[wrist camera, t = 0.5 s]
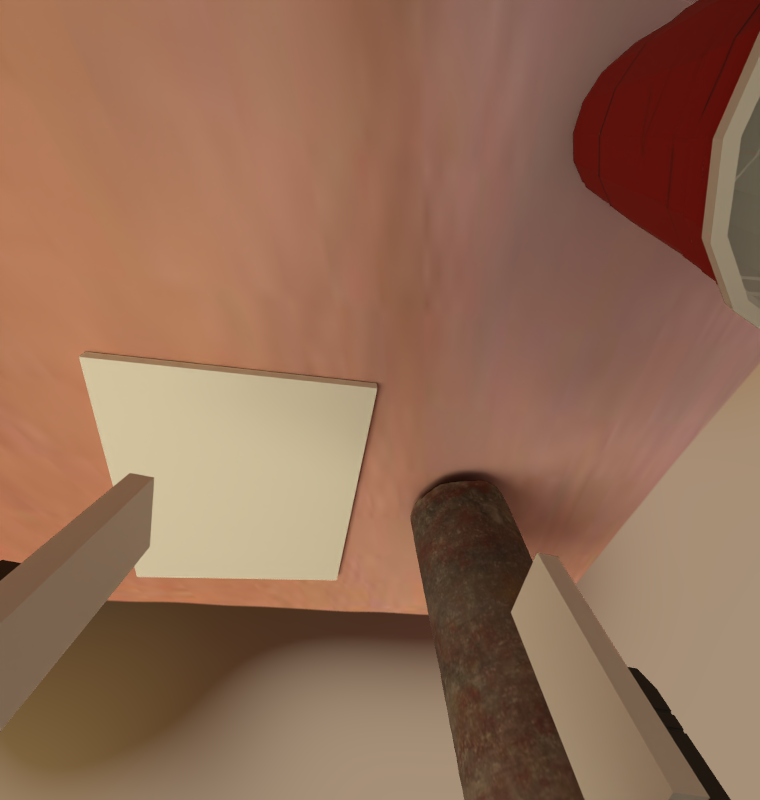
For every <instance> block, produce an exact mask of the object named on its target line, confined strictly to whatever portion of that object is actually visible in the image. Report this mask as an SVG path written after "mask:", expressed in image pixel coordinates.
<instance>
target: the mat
mask: <svg viewBox="0 0 760 800" xmlns="http://www.w3.org/2000/svg"><path fill="white" fill-rule="evenodd" d="M79 359H80V363H81V366H82V370H83V374H84V378H85V382H86V385H87V389H88V393H89V397H90V401H91V404H92V408H93V412H94V416H95V419H96V423H97V427H98V431H99V435H100V438H101V442H102V446H103V450H104V454H105V457H106V461H107V465H108V469H109V472H110V476H111V480H112V484H113V487H114V486H115V485H116V484H117V483H118V482H120V481H121V480H122V479H123V478H124V477H126V476H127V475H128V474H129V473H133V474H139V475H144V476H149V477H154V491H153V506H152V522H151V537H150V547H149V549H148V550H147V551H146V552H145V553H144V555H143V556H142V557H141V558H140V560H139V561H138V562H137V563H136V565H135V566H134V567H135V571H136V575H137V577H173V578H233V579H292V580H337V576H338V572H339V567H340V562H341V558H342V553H343V548H344V543H345V539H346V534H347V529H348V525H349V520H350V515H351V510H352V506H353V501H354V496H355V492H356V487H357V482H358V477H359V473H360V468H361V463H362V459H363V454H364V449H365V445H366V440H367V435H368V430H369V426H370V421H371V416H372V412H373V407H374V402H375V397H376V393H377V383H370V382H361V381H352V380H343V379H333V378H324V377H315V376H306V375H296V374H287V373H278V372H269V371H260V370H250V369H241V368H232V367H223V366H213V365H204V364H195V363H186V362H177V361H167V360H158V359H149V358H140V357H130V356H121V355H112V354H103V353H93V352H84V353H83V354H82V355H80V356H79Z"/></svg>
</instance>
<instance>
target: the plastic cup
mask: <svg viewBox="0 0 760 800" xmlns="http://www.w3.org/2000/svg"><path fill="white" fill-rule="evenodd" d="M573 155H574V163H575V165H576V168H577V170H578V172H579V174H580V177H581V179H582V181H583V182H584V183H585V185H586V187H587V188H588V189H589V190H591V191H592V192H593V193H595V194H596V195H597V196H599V197H600V198H602V199H603V200H604V201H606V202H607V203H609V204H610V206H612V207H613V208H614V209H616V210H617V211H618V212H620V213H621V214H622V215H624V216H625V217H626V218H628V219H629V220H630V221H632V222H633V223H635V224H636V225H638V226H639V227H641V228H642V229H644V230H645V231H647V232H649V233H650V234H652V235H653V236H655V237H656V238H658V239H659V240H661V241H662V242H664V243H665V244H667V245H668V246H670V247H671V248H673V249H675V250H676V251H678V252H679V253H681V254H682V255H683V256H684V257H685V258H686V259H688V260H689V261H690V262H692V263H693V264H695V265H696V266H697V267H699V268H700V269H701V270H702V272H704V273H705V274H706V275H708V276H709V277H710V278H712V279H713V280H715V281H716V284H718V286H719V289H720V291H721V294H722V297H723V300H724V303H725V304H727V305H728V306H729V307H730V308H731V309H732V310H733V311H734V312H736V313H737V314H739V315H740V316H742V317H743V318H744V319H746V320H747V321H749V322H750V323H752V324H753V325H754V326H756V327H757V328H759V329H760V0H698V1H697V2H695V3H694V4H692V5H691V6H689V7H688V8H686V9H685V10H684V11H683V12H681V13H680V14H679V15H678V16H677V17H676V18H674V19H673V20H672V21H671V22H669V23H668V24H666V25H664V26H663V27H661V28H659V29H658V30H656V31H654V32H653V33H651V34H649V35H648V36H646V37H644V38H643V39H641V40H639V41H638V42H636V43H635V44H634V45H633V46H631V47H630V48H629V49H628V50H627V51H626V52H624V53H623V54H622V55H621V56H620V57H619V58H618V59H616V60H615V61H614V62H613V63H612V64H611V65H609V66H608V68H607V69H606V70H605V71H603V72H602V73H601V75H600V76H599V78H598V79H597V81H596V82H595V84H594V86H593V87H592V89H591V90H590V92H589V93H588V95H587V97H586V98H585V100H584V101H583V103H582V106H581V110H580V113H579V116H578V119H577V123H576V126H575V129H574V132H573Z"/></svg>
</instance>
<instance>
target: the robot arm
mask: <svg viewBox="0 0 760 800" xmlns="http://www.w3.org/2000/svg"><path fill="white" fill-rule="evenodd" d="M153 491H154V477H149V476H144V475H139V474H133V473H129V474H128V475H127V476H126V477H124V478H123V479H122V480H121V481H120V482H118V483H117V484H116V485H115V486H114V487H112V488H111V489H110V490H109V491H108V492H106V493H105V494H104V495H103V496H101V497H100V498H99V499H98V500H97V501H95V502H94V503H93V504H92V505H91V506H89V507H88V508H87V509H86V510H85V511H83V512H82V513H81V514H80V515H79V516H77V517H76V518H75V519H74V520H73V521H71V522H70V523H69V524H68V525H67V526H65V527H64V528H63V529H62V530H61V531H59V532H58V533H57V534H56V535H55V536H53V537H52V538H51V539H50V540H49V541H47V542H46V543H45V544H44V545H43V546H41V547H40V548H39V549H38V550H37V551H35V552H34V553H33V554H32V555H31V556H29V557H28V558H27V559H26V560H25V561H23V562H22V563H17V562H11V561H5V560H1V561H0V731H1V730H2V729H3V728H4V726H5V725H6V724H7V723H8V721H9V720H10V719H11V718H12V716H13V715H14V714H15V713H16V711H17V710H18V709H19V708H20V707H21V705H22V704H23V703H24V702H25V700H26V699H27V698H28V697H29V695H30V694H31V693H32V692H33V690H34V689H35V688H36V686H37V685H38V684H39V683H40V682H41V681H42V679H43V678H44V677H45V675H46V674H47V673H48V672H49V671H50V669H51V668H52V667H53V666H54V665H55V663H56V662H57V661H58V660H59V658H60V657H61V656H62V655H63V653H64V652H65V651H66V650H67V648H68V647H69V646H70V645H71V644H72V642H73V641H74V640H75V639H76V637H77V636H78V635H79V634H80V632H81V631H82V630H83V629H84V627H85V626H86V625H87V624H88V622H89V621H90V620H91V619H92V618H93V616H94V615H95V614H96V613H97V611H98V610H99V609H100V608H101V606H102V605H103V604H104V603H105V602H106V600H107V599H108V598H109V597H110V595H111V594H112V593H113V592H114V590H115V589H116V588H117V587H118V586H119V584H120V583H121V582H122V581H123V579H124V578H125V577H126V576H127V574H128V573H129V572H130V571H131V570H132V568H133V567H134V566H135V565H136V563H137V562H138V561H139V560H140V558H141V557H142V556H143V555H144V553H145V552H146V551H147V550H148V549H149V547H150V537H151V522H152V506H153ZM511 614H512V616H513V619H514V621H515V624H516V627H517V629H518V632H519V634H520V637H521V639H522V642H523V644H524V647H525V649H526V652H527V655H528V657H529V660H530V662H531V665H532V667H533V670H534V672H535V675H536V677H537V680H538V682H539V685H540V688H541V690H542V693H543V695H544V698H545V700H546V703H547V705H548V708H549V710H550V713H551V716H552V718H553V721H554V723H555V726H556V728H557V731H558V733H559V736H560V738H561V741H562V743H563V746H564V749H565V751H566V754H567V756H568V759H569V761H570V764H571V766H572V769H573V771H574V774H575V776H576V779H577V782H578V784H579V787H580V789H581V792H582V794H583V797H584V799H585V800H730V798H729V797H728V795H727V794H726V792H725V791H724V789H723V788H722V786H721V785H720V783H719V782H718V780H717V779H716V777H715V776H714V774H713V773H712V771H711V770H710V768H709V767H708V765H707V764H706V762H705V761H704V759H703V758H702V756H701V755H700V753H699V752H698V750H697V749H696V747H695V746H694V744H693V743H692V741H691V740H690V738H689V737H688V735H687V734H685V733H684V732H683V728H682V726H681V725H680V723H679V722H678V720H677V719H676V717H675V716H674V715H672V714H671V710H670V709H669V707H668V705H667V704H666V702H665V701H664V699H663V698H662V697H661V695H660V693H659V692H658V690H657V689H656V688H655V687H654V686H653V685H652V684H651V683H650V682H649V681H648V679H646V677H645V676H644V675H643V674H642V673H641V672H640V671H639V670H638V669H636V668H630V667H627V666H626V664H625V662H624V661H623V660H622V658H621V656H620V655H619V653H618V651H617V650H616V648H615V647H614V645H613V643H612V642H611V640H610V639H609V637H608V636H607V634H606V632H605V631H604V629H603V628H602V626H601V625H600V623H599V621H598V620H597V618H596V617H595V615H594V613H593V612H592V610H591V609H590V607H589V605H588V604H587V602H586V601H585V599H584V598H583V596H582V594H581V593H580V591H579V590H578V588H577V586H576V585H575V583H574V582H573V580H572V579H571V577H570V575H569V574H568V572H567V571H566V569H565V567H564V566H563V564H562V563H561V561H560V560H559V558H558V557H557V556H552V555H547V554H542V553H537V554H536V556H535V559H534V561H533V563H532V565H531V568H530V570H529V572H528V574H527V577H526V579H525V581H524V583H523V586H522V588H521V590H520V593H519V595H518V597H517V599H516V602H515V604H514V606H513V608H512V611H511Z"/></svg>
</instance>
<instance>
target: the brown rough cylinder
mask: <svg viewBox="0 0 760 800" xmlns="http://www.w3.org/2000/svg"><path fill="white" fill-rule="evenodd" d="M411 525H412V530H413V535H414V542H415V547H416V552H417V557H418V562H419V568H420V573H421V578H422V583H423V589H424V593H425V598H426V603H427V608H428V614H429V619H430V623H431V629H432V633H433V638H434V643H435V649H436V654H437V658H438V663H439V668H440V672H441V679H442V685H443V690H444V695H445V701H446V705H447V710H448V716H449V722H450V727H451V731H452V736H453V742H454V748H455V752H456V757H457V763H458V770H459V776H460V780H461V784H462V789H463V794H464V800H585V799H584V797H583V794H582V792H581V789H580V787H579V784H578V782H577V779H576V776H575V774H574V771H573V769H572V766H571V764H570V761H569V759H568V756H567V754H566V751H565V749H564V746H563V743H562V741H561V738H560V736H559V733H558V731H557V728H556V726H555V723H554V721H553V718H552V716H551V713H550V710H549V708H548V705H547V703H546V700H545V698H544V695H543V693H542V690H541V688H540V685H539V682H538V680H537V677H536V675H535V672H534V670H533V667H532V665H531V662H530V660H529V657H528V655H527V652H526V649H525V647H524V644H523V642H522V639H521V637H520V634H519V632H518V629H517V627H516V624H515V621H514V619H513V616H512V614H511V611H512V608H513V606H514V604H515V602H516V599H517V597H518V595H519V593H520V590H521V588H522V586H523V583H524V581H525V579H526V577H527V574H528V572H529V570H530V568H531V565H532V563H533V561H532V559H531V557H530V554H529V552H528V550H527V548H526V545H525V543H524V541H523V538H522V536H521V534H520V532H519V529H518V527H517V525H516V523H515V521H514V518H513V516H512V514H511V511H510V509H509V507H508V505H507V503H506V501H505V499H504V497H503V495H502V494H501V492H500V491H499V490H498V489H497V488H496V487H495V486H494V485H492V484H491V483H487V482H485V481H481V480H476V481H461V482H450V483H446V484H440V485H439V486H438V487H435V488H434V489H433V490H432V491H430V492H428V493H427V494H426V495H425V496H424V497H423V498H422V499H420V500H418V501H417V502H416V504H415V506H414V509H413V511H412V513H411Z"/></svg>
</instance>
